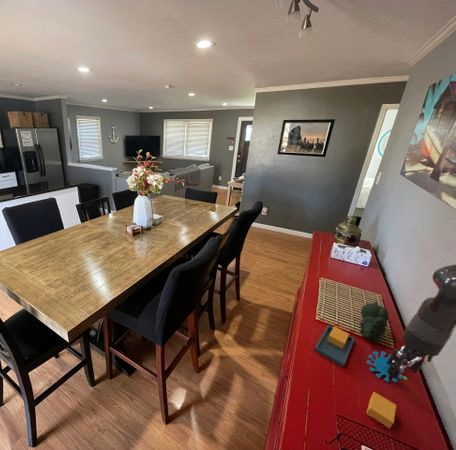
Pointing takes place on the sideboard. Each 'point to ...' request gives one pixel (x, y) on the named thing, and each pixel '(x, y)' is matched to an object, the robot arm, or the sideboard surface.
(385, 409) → the pad
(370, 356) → the blue virus toy
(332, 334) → the pad
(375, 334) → the green broccoli
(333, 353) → the backing tray
